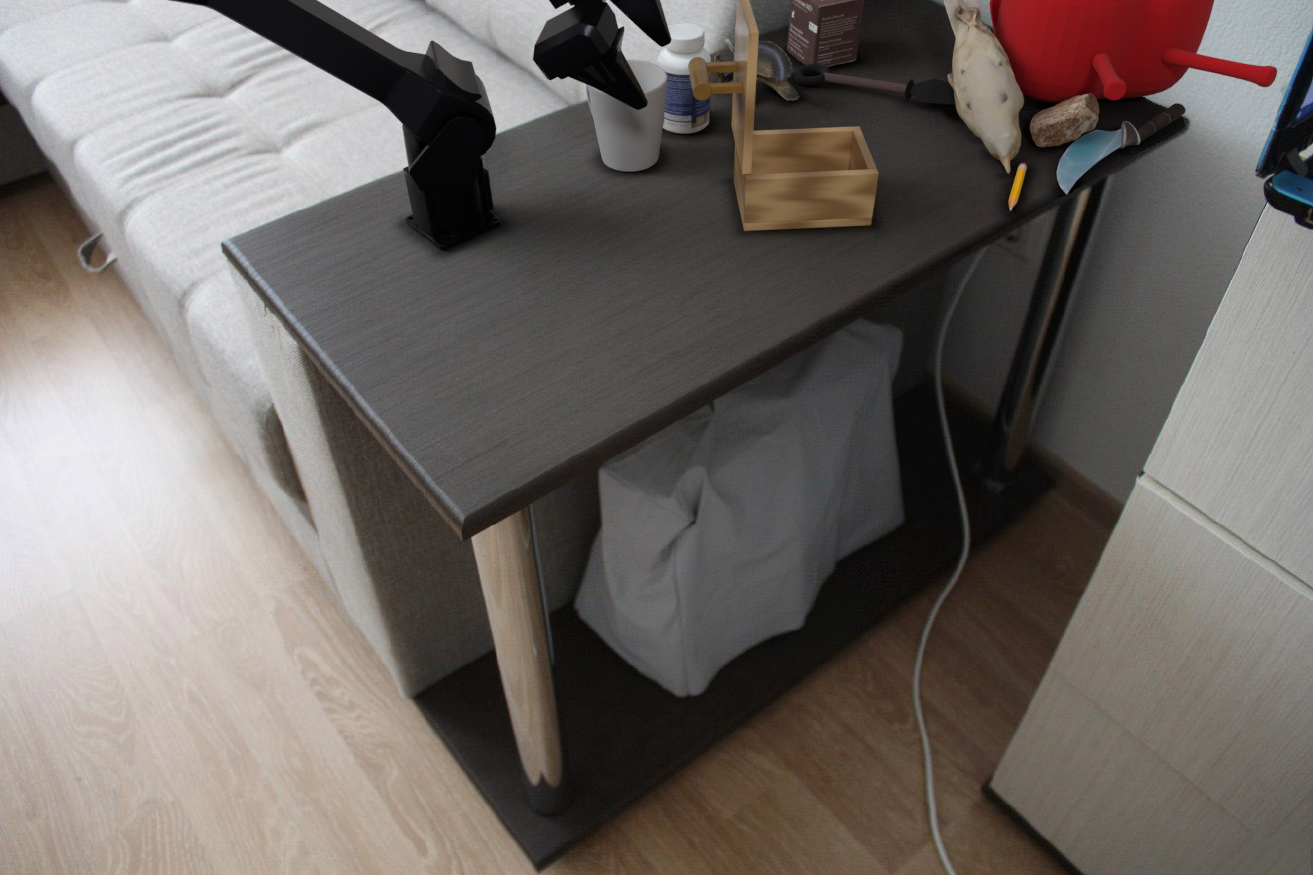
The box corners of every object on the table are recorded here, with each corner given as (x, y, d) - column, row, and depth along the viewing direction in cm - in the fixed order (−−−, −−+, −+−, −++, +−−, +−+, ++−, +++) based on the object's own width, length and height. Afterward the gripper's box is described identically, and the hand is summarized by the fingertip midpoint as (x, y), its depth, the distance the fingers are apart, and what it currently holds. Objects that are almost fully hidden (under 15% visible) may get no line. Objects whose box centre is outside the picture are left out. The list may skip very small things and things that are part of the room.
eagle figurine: (708, 102, 108) (793, 94, 106) (705, 31, 107) (791, 21, 104) (724, 111, 115) (804, 104, 113) (721, 45, 114) (802, 36, 112)
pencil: (1017, 167, 100) (1023, 171, 100) (1004, 211, 94) (1010, 215, 94) (1022, 161, 99) (1028, 165, 99) (1009, 205, 93) (1016, 209, 93)
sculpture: (910, -27, 106) (931, -5, 110) (968, 181, 99) (989, 197, 103) (966, -62, 102) (986, -38, 106) (1031, 151, 95) (1050, 169, 99)
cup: (624, 186, 98) (620, 103, 93) (563, 148, 104) (555, 67, 98) (684, 160, 102) (684, 78, 96) (621, 124, 108) (618, 44, 102)
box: (785, 51, 120) (790, -13, 114) (829, 41, 121) (836, -22, 116) (812, 72, 116) (818, 6, 110) (857, 61, 117) (866, -4, 112)
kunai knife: (1032, 135, 102) (1036, 105, 99) (787, 93, 115) (786, 65, 112) (1047, 115, 104) (1051, 85, 102) (805, 76, 117) (804, 48, 114)
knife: (1023, 183, 99) (1069, 204, 96) (1027, 168, 97) (1074, 189, 95) (1138, 101, 108) (1183, 118, 106) (1143, 87, 107) (1188, 104, 105)
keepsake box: (853, 177, 99) (859, 126, 95) (871, 225, 93) (879, 173, 89) (733, 182, 99) (735, 131, 95) (743, 231, 93) (746, 179, 89)
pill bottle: (705, 137, 105) (706, 44, 98) (653, 133, 106) (652, 40, 99) (713, 113, 109) (715, 21, 102) (664, 109, 110) (663, 18, 103)
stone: (1068, 142, 107) (1036, 107, 107) (1116, 104, 103) (1081, 67, 102) (1054, 168, 102) (1019, 132, 102) (1102, 129, 98) (1066, 91, 98)
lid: (746, -11, 86) (686, -8, 86) (759, 32, 80) (695, 34, 80) (739, 126, 95) (686, 129, 95) (751, 174, 89) (693, 176, 89)
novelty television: (1130, -69, 114) (1324, 3, 91) (1100, 50, 122) (1271, 144, 99) (957, -59, 111) (1113, 19, 88) (938, 62, 119) (1076, 163, 95)
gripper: (597, -79, 68) (715, 106, 77) (658, -199, 79) (755, -24, 88) (476, -9, 74) (599, 155, 83) (548, -129, 85) (650, 28, 94)
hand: (655, 74), depth 87 cm, fingers open, 9 cm apart
